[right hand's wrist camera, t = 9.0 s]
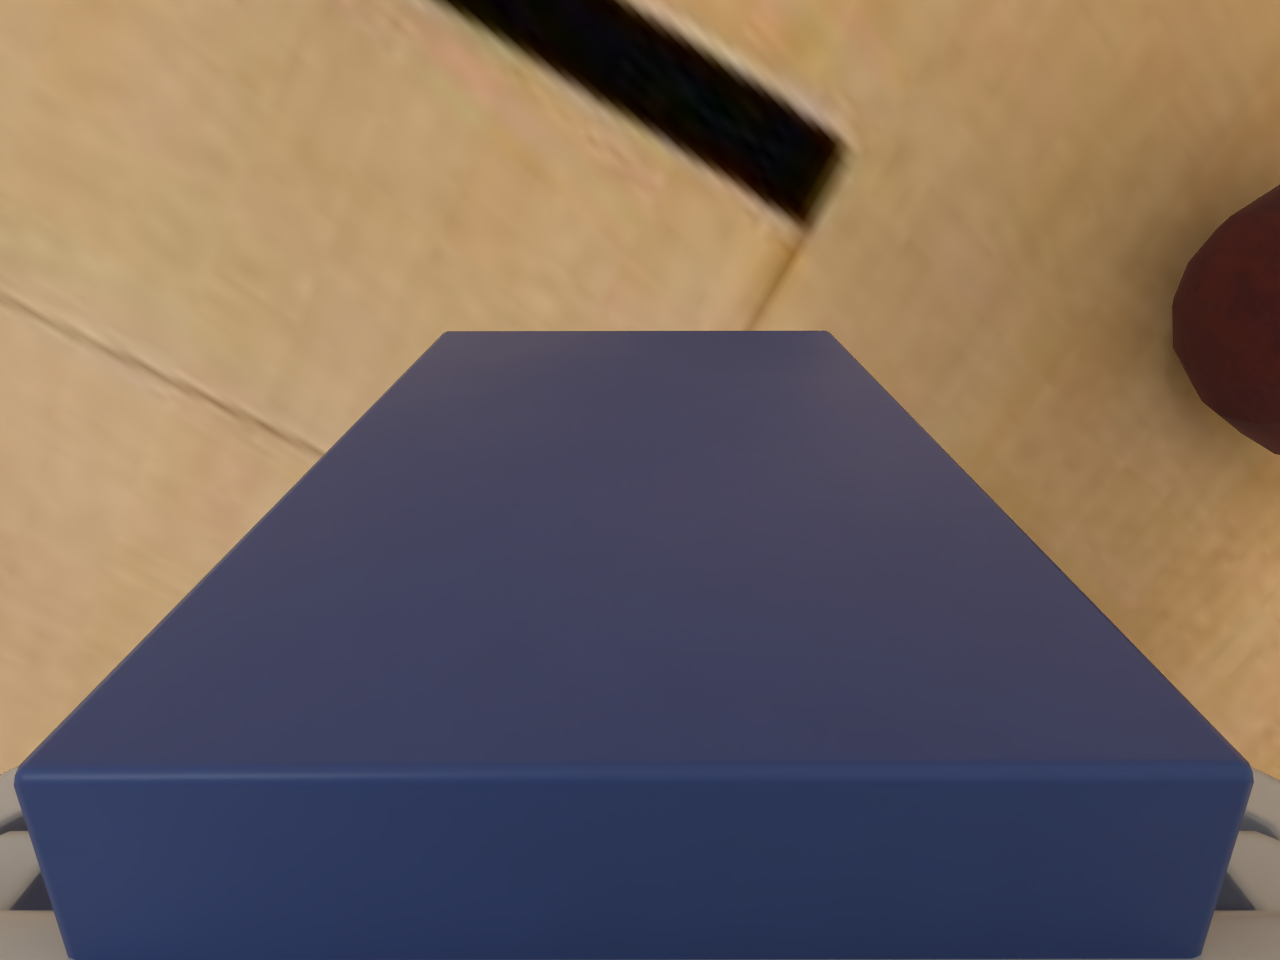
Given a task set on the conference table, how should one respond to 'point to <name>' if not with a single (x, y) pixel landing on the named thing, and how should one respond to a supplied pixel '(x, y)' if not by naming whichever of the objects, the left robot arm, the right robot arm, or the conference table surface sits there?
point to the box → (634, 695)
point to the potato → (1236, 321)
